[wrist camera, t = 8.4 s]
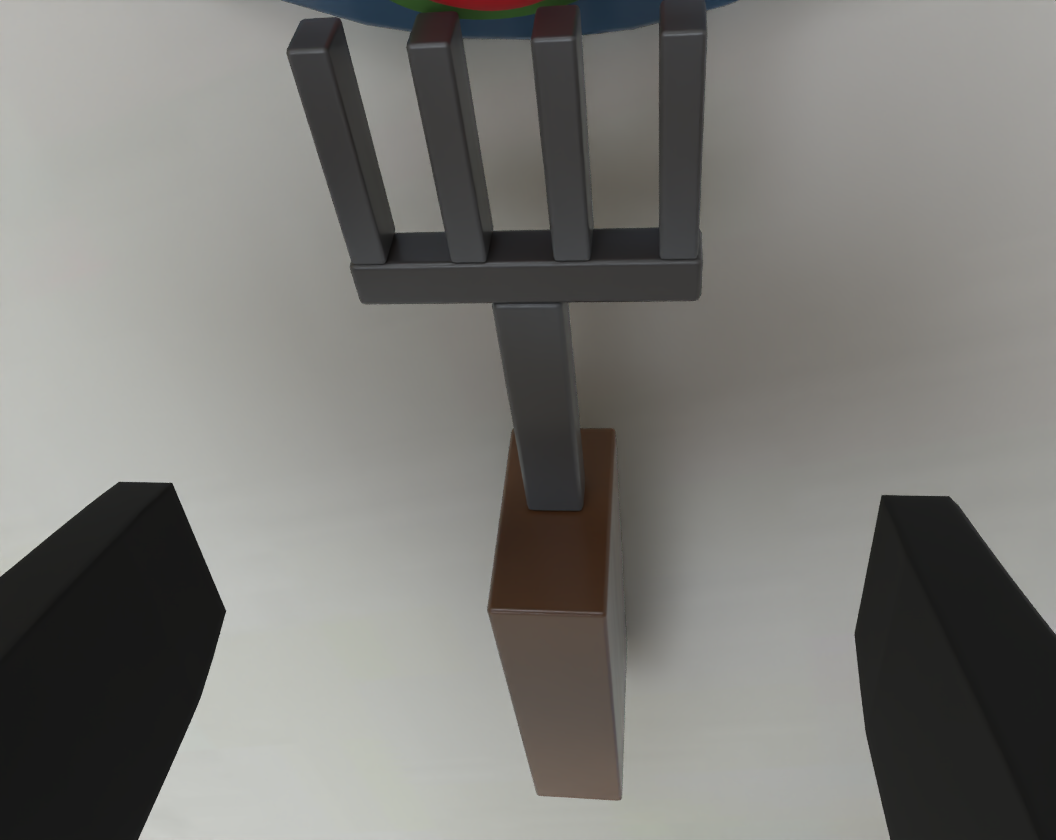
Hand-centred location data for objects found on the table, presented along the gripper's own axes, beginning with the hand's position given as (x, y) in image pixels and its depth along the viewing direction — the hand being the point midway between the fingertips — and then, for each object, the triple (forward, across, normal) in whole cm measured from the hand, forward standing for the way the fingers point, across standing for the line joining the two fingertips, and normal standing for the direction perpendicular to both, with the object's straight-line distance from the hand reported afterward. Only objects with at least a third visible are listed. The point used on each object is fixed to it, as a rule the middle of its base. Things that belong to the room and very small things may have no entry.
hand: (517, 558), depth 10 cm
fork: (+5, 0, +2) cm, 5 cm away
